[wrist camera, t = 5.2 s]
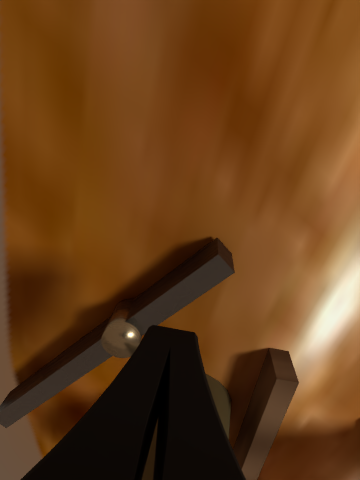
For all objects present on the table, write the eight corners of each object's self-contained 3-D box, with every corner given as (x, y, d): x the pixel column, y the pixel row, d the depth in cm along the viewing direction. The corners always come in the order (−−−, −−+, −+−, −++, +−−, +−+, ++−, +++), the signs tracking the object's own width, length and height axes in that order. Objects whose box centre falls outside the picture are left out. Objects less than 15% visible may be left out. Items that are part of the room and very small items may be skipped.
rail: (243, 468, 23) (246, 504, 21) (227, 465, 23) (229, 500, 21) (288, 351, 18) (298, 382, 16) (269, 347, 18) (276, 378, 16)
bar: (27, 404, 22) (6, 438, 20) (5, 388, 22) (-19, 421, 19) (236, 259, 16) (240, 283, 14) (212, 231, 15) (213, 253, 13)
